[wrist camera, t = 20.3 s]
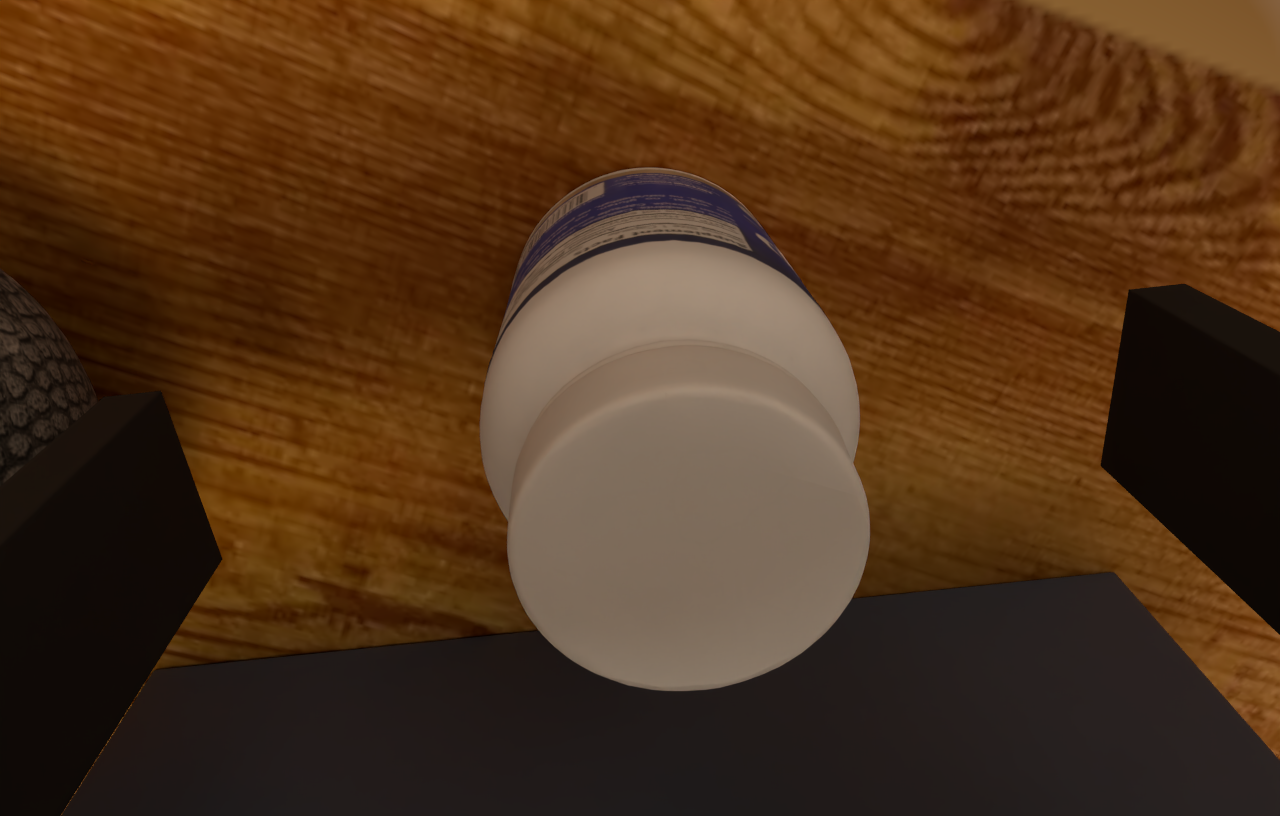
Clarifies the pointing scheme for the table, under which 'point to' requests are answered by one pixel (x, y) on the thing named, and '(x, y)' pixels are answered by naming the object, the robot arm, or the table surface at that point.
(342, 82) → the table surface
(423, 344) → the table surface
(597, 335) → the pill bottle
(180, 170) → the table surface
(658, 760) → the gray rectangular block
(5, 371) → the decorative ball
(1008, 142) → the table surface
